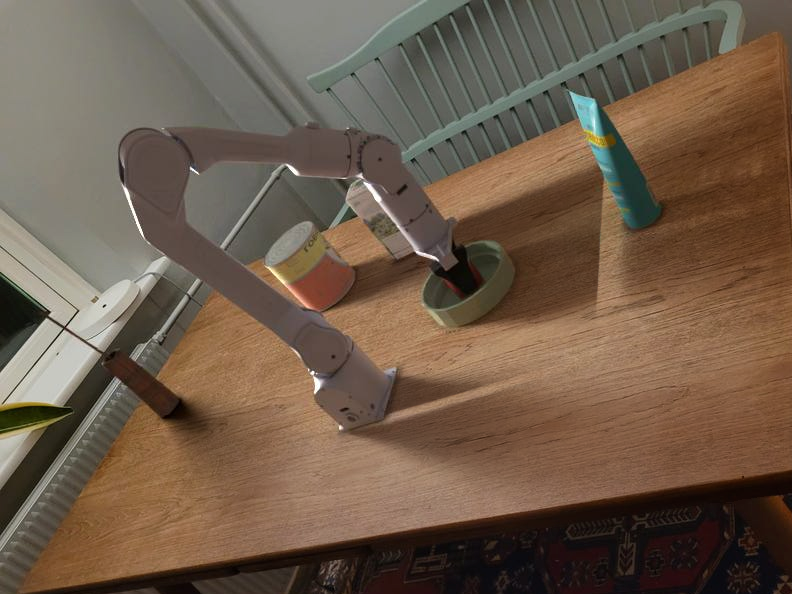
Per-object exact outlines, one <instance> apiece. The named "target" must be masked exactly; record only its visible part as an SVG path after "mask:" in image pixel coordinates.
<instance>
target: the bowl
mask: <svg viewBox="0 0 792 594" xmlns="http://www.w3.org/2000/svg"><path fill="white" fill-rule="evenodd" d="M464 247H465V248H466V251H467V257H468V258H469V259H470V260H471V262H472V263H473V264H474V266H475V267H476V268H477V270H478V271H479V272H480V274H481V275H482V277H483V278H484V280H485V281H486V284H485V285H484V286H483V287H482V288H481V289H480V290H479V291H478V292H476V293H475V294H474V295H473V296H471V297H470V298H468V299H466V300H465V301H463V302H462V301H461V300H460V299H459V298H458V296H457V295H456V294H455V293H454V292H453V290H452V289H451V288H450V286H449V285H448V284H447V283H446V281H445V280H444V279H443V278H441V277H438V276H436V275H434V274H433V273H432V272H431V271H430V273H429V275H428V277H427V278H426V280H425V282H424V283H423V284H422V288H421V292H420V303H421V305H422V306H423V307H424V309H425V310H426V312H428V313H429V315H430V316H431V317H432V318H433V319H434V320H435V322H436V323H437V324H438V325H440V326H442V327H446V328H456V327H459V328H460V327H462V326H465V325H468V324H471V323H473V322H475V321H476V320H479V319H480V318H482V317H484V316H486V315H487V314H488V313H489V312H490V311H492V310H493V309H494V308H495V307H497V306H498V304H499V303H500V302H501V301H502V300H503V299H504V298H505V296H506V295H507V294H508V292H509V291H510V289H511V287H512V286H513V283H514V281H515V275H516V267H515V263H514V261H512V259H511V257H510V256H509V254H508V253H507V251H506V250H505V249H504V247H503V246H502V245H501V244H500V243H498V241H495V240H491V239H483V240H477V241H473V242H470V243H468V244H466V245H464Z"/></svg>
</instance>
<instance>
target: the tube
mask: <svg viewBox="0 0 792 594" xmlns="http://www.w3.org/2000/svg"><path fill="white" fill-rule="evenodd" d="M566 91H568V93H569V95H570V98H571V100H572V104H573V106H574V108H575V109H574V110H575V112H576V114H577V117H578V119H579V122H580V124H581V128H582V129H583V132H584V134H585V137H586V139H587V141H588V143H589V146H590V148H591V151H592V153H593V156H594V157H595V159H596V162H597V164H598V167H599V168H600V170H601V172H602V175H603V178H604V179H605V181H606V184H607V186H608V189H609V191H610V192H611V194H612V197H613V199H614V201H615V204H616V205H617V207H618V209H619V212H620V213H621V216H622V218H623V219H624V222H625V224H626V226H627V227H628V228H630V229H633V230H640V229H645V228H646V227H649V226H651V225H653V224H654V222H655V221H656V220H658V218H659V217H660V215H661V214H662V206H661V204H660V202H659V199H658V198H657V196H656V195H655V193H654V190H653V189H652V187H651V185H650V183H649V182H648V180H647V178H646V177H645V175H644V173H643V171H642V170H641V168H640V166H639V165H638V162H637V161H636V159H635V158H634V156H633V154H632V152H631V151H630V148H629V147H628V145H627V144H626V142H625V141H624V139H623V137H622V136H621V134H620V132H619V131H618V130H617V128H616V126H615V124H614V122H613V121H612V120H611V118H610V117H609V115H608V114H607V113H606V111H605V110H604V108H603V107H602V106H601V105H600V104H599V102H598V101H597V99H595V98H593V97H590V96H584V95H581V94H579V93H577V92H575V91H573V90H570V89H569V88H566Z"/></svg>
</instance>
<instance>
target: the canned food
mask: <svg viewBox="0 0 792 594" xmlns="http://www.w3.org/2000/svg"><path fill="white" fill-rule="evenodd" d="M262 264H263V266H264V267H265V268H267V269H268V270H269V271H270V272H271V273H272V274H273V275H274V277H276V278H277V279H278V280H279V281H280V283H282V284H283V286H285V287H286V288H287V289H288V290H289V291H290V292H291V293H292V294H293V295H294V297H296V298H297V300H299V301H300V302H301V303H302V305H303V306H304V307H305V308H309V309H314V310H316V311H318V312H319V313H321V312H324V311H326V310H327V309H330V308H331V307H333V306H335V304H337V303H338V302H339V301H341V300H342V299H343V298H344V297H345V296H346V294H348V292H349V291H350V289H351V288H352V286H353V284H354V283H355V280H356V277H357V273H356V270H355V268H353V267H351V265H350V264H349V263H348V262H347V261H346V260H345V259H344V257H343V256H342V255H341V254H340V253H339V252H338V251H337V249H335V247H334V246H333V245H332V244H331V243H330V242H329V240H328V239H327V238H326V237H325V236H324V235H323V234H322V232H321V231H320V230H319V229H318V228H317V227H316V226H315V225H314V223H313V222H312V221H309V220H306V221H305V220H304V221H302V222H299V223H297V224H295V225H294V226H292V227H290V228H289V229H287V230H286V231H284V232H283V233H282V234H281V235H280V236H279V237H278V238H277V239H276V240H275V241H274V242H273V243H272V244H271V246H269V248H268V249H267V252H266V253H265V254H264V257H263V260H262Z"/></svg>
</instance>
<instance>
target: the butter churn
mask: <svg viewBox="0 0 792 594" xmlns="http://www.w3.org/2000/svg"><path fill="white" fill-rule="evenodd" d="M38 314H40V315H41V316H43V317H44V318H45V319H47V320H49V321H50V322H51V323H53V324H55V325H56V326H58V327H59V328H61V329H62V330H64V331H65V332H67V333H69V334H70V335H72V336H74V338H76V339H78V340H79V341H80V342H82V343H84V344H85V345H87V346H88V347H89V348H91V349H93V350H94V351H96V352H97V353H98V354H100V355H101V356H103V357H105V358H104V359H103V361H102V362H101V365H102V366H103V367H104V368H105V370H107V371H108V372H109V373H110V374H112V376H114V378H115V377H116V379H118V380H119V381H120V382H121V383H122V384H123V386H125V387H126V388H127V389H128V390H129V391H131V393H133V394H134V395H135V396H137V397H138V399H140V400H141V401H142V403H144V404H145V405H146V406H147V407H148V408H149V409H150V410H152V411H153V412H154V413H155V414H156V415H157V416H158V417H159V418H164V417H165V416H168V415H170V414H171V413H172V412H173V411H174V409H175V408H176V407H177V406H178V405H179V403H180V397H179V396H178V395H177V394H176V393H175V392H173V391H172V390H171V389H170V388H169V387H167V386H166V385H165V384H164V383H163V382H161V381H160V380H158V379H157V378H156V377H154V375H153V374H151V373H150V372H149V371H148V370H146V369H145V368H144V367H143V366H142V365H140V364H139V363H138V362H136V361H135V360H134V359H133V358H131V357H130V356H128V355H127V354H126V353H125V352H123V351H121V348H117V349H114V350H112V351H110V352H109V353H108V354H107V353H105V352H104V351H102V350H101V349H99V348H98V347H97V346H95V345H93V344H92V343H90V342H89V341H87V340H86V339H85V338H83V337H81V336H80V335H78V334H76V332H74V331H72V330H70V329H69V328H68V327H67V326H65V325H64V324H62V323H60V322H59V321H57V320H56V319H54V318H53V317H51V316H50V315H48V314H47V313H46V312H44V311H42V310H39V311H38Z"/></svg>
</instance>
